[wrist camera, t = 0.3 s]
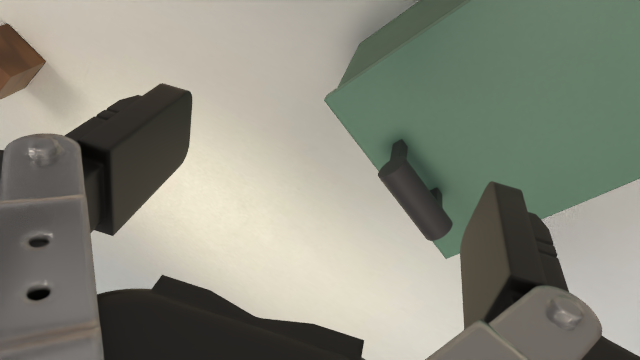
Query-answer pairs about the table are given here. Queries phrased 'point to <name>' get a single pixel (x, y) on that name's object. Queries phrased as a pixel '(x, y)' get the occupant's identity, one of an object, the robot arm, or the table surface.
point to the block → (16, 62)
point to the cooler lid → (502, 109)
